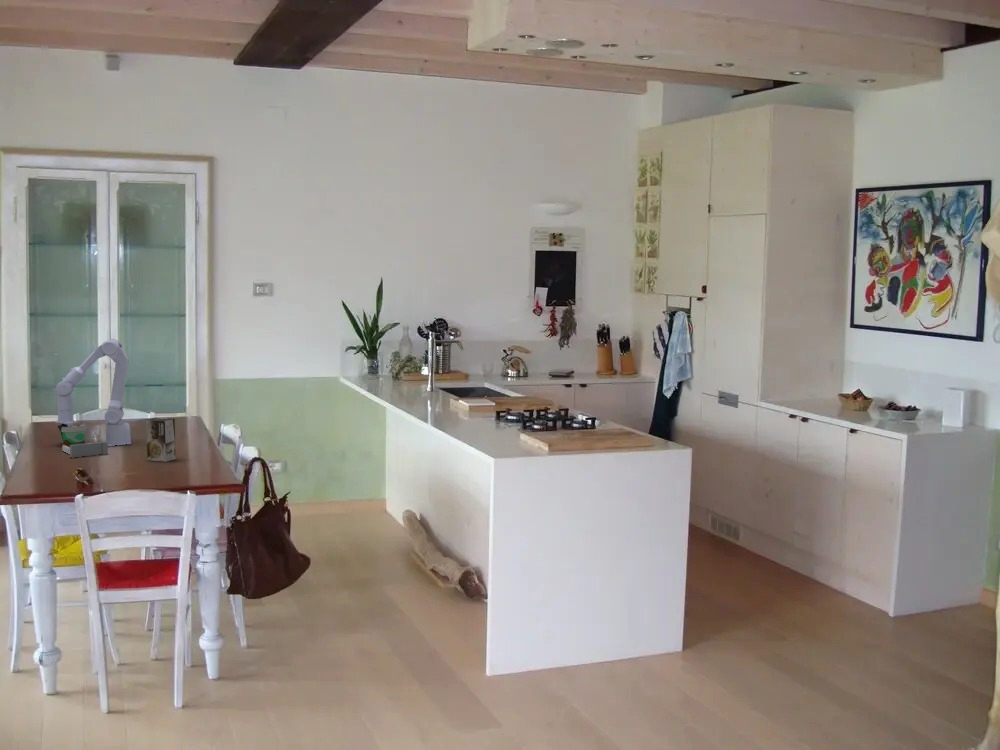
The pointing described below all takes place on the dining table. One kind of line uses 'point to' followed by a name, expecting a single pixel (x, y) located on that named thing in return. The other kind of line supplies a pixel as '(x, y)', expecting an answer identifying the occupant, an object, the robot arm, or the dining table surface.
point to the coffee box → (160, 439)
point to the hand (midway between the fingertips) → (66, 442)
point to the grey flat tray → (86, 449)
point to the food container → (74, 434)
